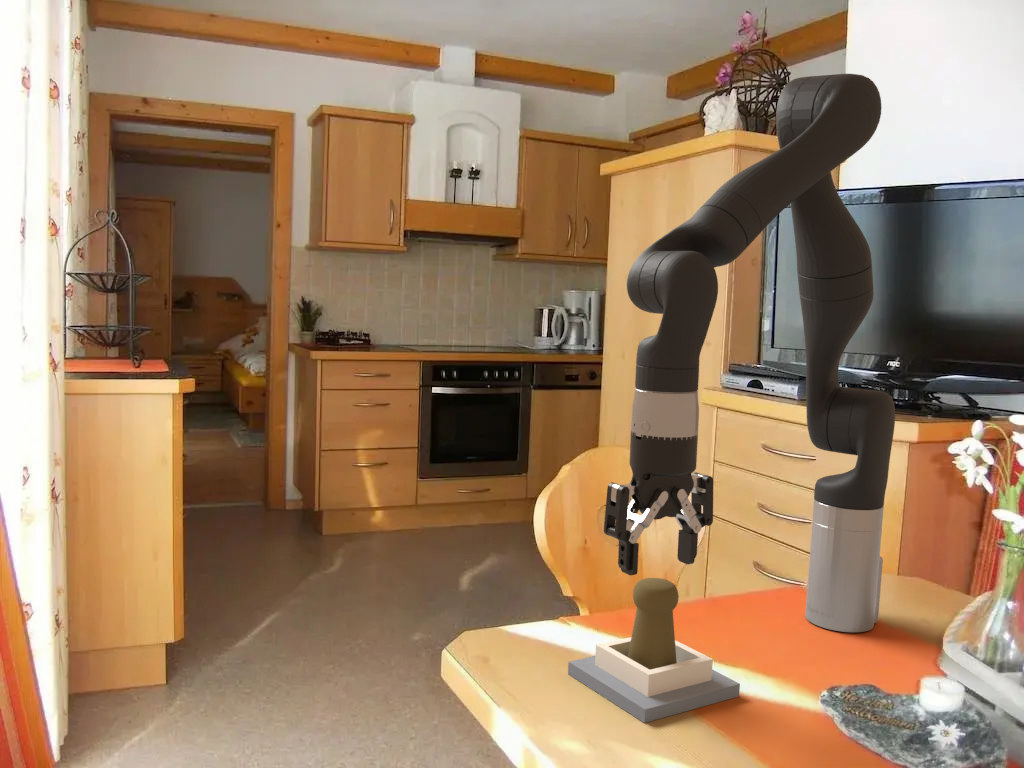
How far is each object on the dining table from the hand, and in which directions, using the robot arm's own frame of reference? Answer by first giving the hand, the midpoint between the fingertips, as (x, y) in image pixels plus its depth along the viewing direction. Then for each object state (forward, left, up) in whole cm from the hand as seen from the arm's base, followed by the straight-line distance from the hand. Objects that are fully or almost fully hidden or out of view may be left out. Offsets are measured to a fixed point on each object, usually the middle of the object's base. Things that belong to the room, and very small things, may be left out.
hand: (657, 567), depth 107 cm
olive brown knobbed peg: (0, 0, -13) cm, 13 cm away
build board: (0, 0, -14) cm, 14 cm away
